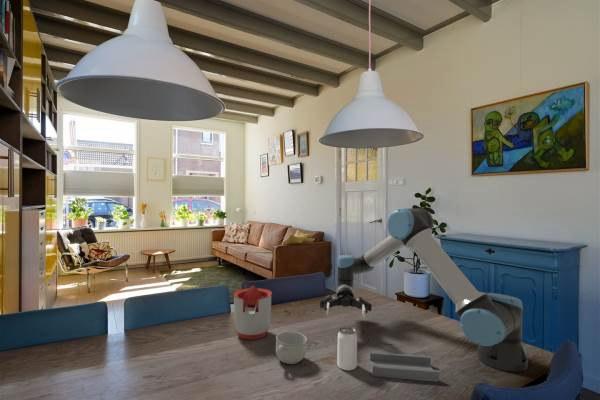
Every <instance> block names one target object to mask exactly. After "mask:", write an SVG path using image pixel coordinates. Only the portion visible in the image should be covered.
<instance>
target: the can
mask: <svg viewBox="0 0 600 400" xmlns="http://www.w3.org/2000/svg"><path fill="white" fill-rule="evenodd" d="M336 353H337V354H336V355H337V359H336V360H337V361H336V362H337V366H338V368H339V369H340V370H342V371H347V372H348V371H349V372H351V371H353V370H356V368H357V366H358V365H357V363H358V335H357V331H356V329H355V328H353V327H347V326H346V327H341V328H339V331H338V333H337V352H336Z"/></svg>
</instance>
